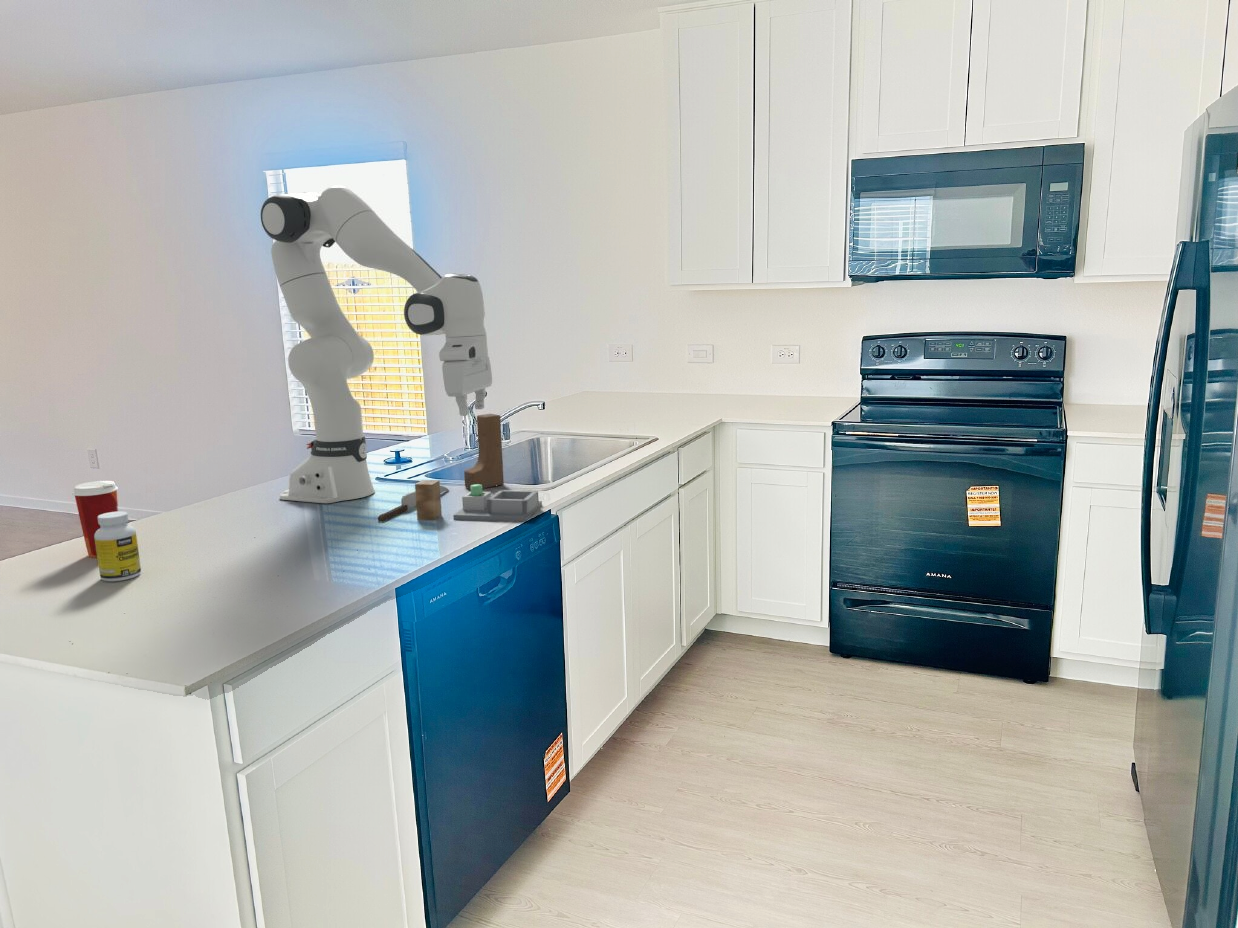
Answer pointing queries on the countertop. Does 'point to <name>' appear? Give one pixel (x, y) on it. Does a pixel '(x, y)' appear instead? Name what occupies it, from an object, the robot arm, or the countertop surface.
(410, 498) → the kitchen knife
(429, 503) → the block
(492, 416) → the wooden block
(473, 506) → the gray button tray fixture
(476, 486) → the button
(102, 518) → the pill bottle
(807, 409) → the countertop surface
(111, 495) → the paper cup
